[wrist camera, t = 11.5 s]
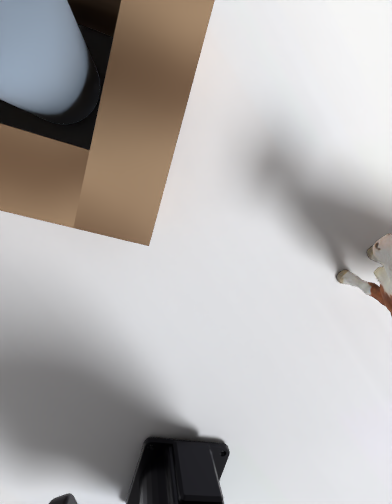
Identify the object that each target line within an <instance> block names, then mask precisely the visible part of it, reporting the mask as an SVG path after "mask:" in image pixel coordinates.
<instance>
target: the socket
mask: <svg viewBox="0 0 392 504" xmlns="http://www.w3.org/2000/svg"><path fill="white" fill-rule="evenodd" d="M67 1H68V4H69V6H70V8H71V11H72V13H73V15H74V18H75V20H76V22H77V23H78V24H80V25H83V26H85V27H88V28H91V29H93V30H96V31H98V32H101V33H103V34H106V35H108V36H111V37H113V42H112V47H111V52H110V56H109V61H108V66H107V71H106V75H105V80H104V85H103V90H102V94H101V99H100V104H99V109H98V113H97V118H96V123H95V128H94V132H93V137H92V142H91V147H90V150H89V149H85V148H82V147H79V146H75V145H72V144H69V143H65V142H62V141H59V140H55V139H52V138H49V137H45V136H42V135H39V134H35V133H32V132H29V131H25V130H22V129H19V128H15V127H12V126H9V125H6V124H2V123H0V210H1V211H5V212H9V213H13V214H18V215H22V216H26V217H30V218H34V219H38V220H43V221H47V222H51V223H55V224H59V225H63V226H68V227H72V228H76V229H80V230H84V231H88V232H93V233H97V234H101V235H105V236H109V237H113V238H118V239H122V240H126V241H130V242H134V243H138V244H143V245H147V246H149V244H150V240H151V236H152V232H153V229H154V225H155V221H156V217H157V214H158V210H159V206H160V202H161V199H162V195H163V191H164V188H165V184H166V180H167V176H168V173H169V169H170V165H171V161H172V158H173V154H174V150H175V146H176V143H177V139H178V135H179V131H180V128H181V124H182V120H183V116H184V113H185V109H186V105H187V101H188V98H189V94H190V90H191V86H192V83H193V79H194V75H195V72H196V68H197V64H198V60H199V57H200V53H201V49H202V45H203V42H204V38H205V34H206V30H207V27H208V23H209V19H210V15H211V12H212V8H213V4H214V0H67Z"/></svg>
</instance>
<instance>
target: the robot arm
mask: <svg viewBox="0 0 392 504" xmlns="http://www.w3.org/2000/svg"><path fill="white" fill-rule="evenodd" d="M150 445H152V446H150ZM222 451H223V452H222ZM229 453H230V452H229V449H228V446H227V445H226V444H220V443H209V442H198V441H187V440H176V439H165V438H154V437H151V438H148V439H146V440H145V442H144V445H143V448H142V451H141V454H140V458H139V461H138V464H137V467H136V471H135V474H134V477H133V480H132V484H131V487H130V490H129V494H128V497H127V500H126V504H224V501H223V495H222V491H221V487H220V483H219V480H220V477H221V475H222V472H223V470H224V467H225V464H226V462H227V459H228V456H229ZM49 504H77V502H76V500H75V498H74V496H73V495H72V494H70V493H69V494H65V495H62V496H59V497H56V498H54V499H53V500H51V502H50V503H49Z"/></svg>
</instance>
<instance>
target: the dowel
mask: <svg viewBox="0 0 392 504" xmlns="http://www.w3.org/2000/svg"><path fill="white" fill-rule="evenodd" d="M99 94H100V80H99V75H98V72H97V69H96V66H95V64H94V62H93V59H92V57H91V55H90V52H89V50H88V48H87V45H86V43H85V41H84V39H83V36H82V34H81V32H80V29H79V27H78V25H77V22H76V20H75V18H74V15H73V13H72V11H71V8H70V6H69V4H68V1H67V0H0V99H1V100H3V101H5V102H7V103H9V104H12V105H14V106H16V107H18V108H20V109H22V110H25V111H27V112H29V113H31V114H33V115H35V116H38V117H40V118H42V119H44V120H46V121H49V122H52V123H55V124H65V125H66V124H73V123H76V122H79V121H81V120H83V119H84V118H86V117H87V116H88V115H89V114H90V113H91V112H92V111H93V109H94V108H95V106H96V104H97V102H98V99H99Z"/></svg>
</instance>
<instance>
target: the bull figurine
mask: <svg viewBox="0 0 392 504" xmlns="http://www.w3.org/2000/svg"><path fill="white" fill-rule="evenodd" d="M367 255H368V257H369V258H370V259H372V260H373V261H375V262H379V263H380V264H382V265H383V267H379V268H377V269H376V270H375V271H374V274H375V276H376V278H377V279H378V281H379V282H380V287H379V286H378V285H376V284H375V283H371V282H367V281H364V280H362V279H360V278H359V277H358V276H356V275H355V274H353V273H351V272H350V271H348V270H342V271H341V272H340V273H339V274H338V276H337V280H338V282H339V283H342V284H346V285H351V286H355V287H358V288H360V289H361V290H362V291H363V292H364V293H365V294H367V295H369V296H372V297H373V298H375V299H376V300H378V301H379V302H380V303H381V304H382V305H384V306H386V307H387V309H388V310H389V311H390V312H391V316H392V234H387V235H385V236H383V237H382V238H380V239H379V240H378V241H376V242H375V244H374V246H372V247H370V248H369V249H368V251H367Z"/></svg>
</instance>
